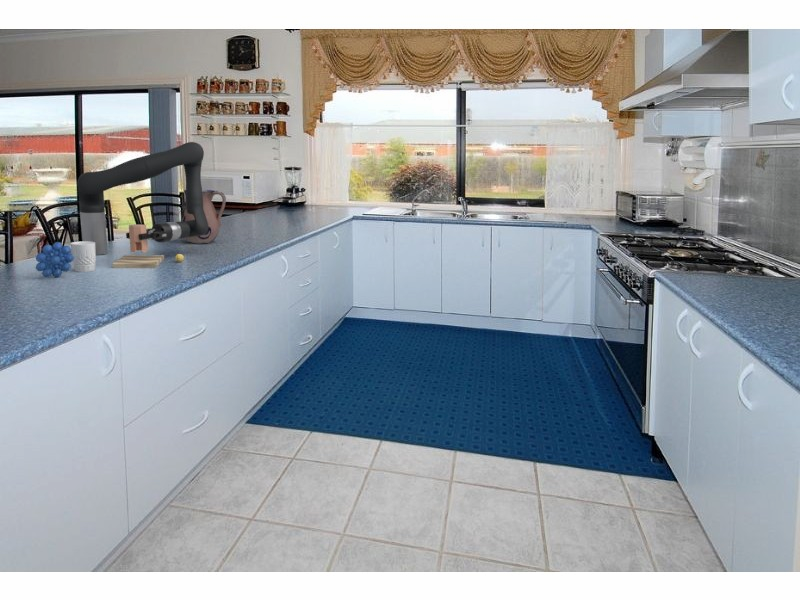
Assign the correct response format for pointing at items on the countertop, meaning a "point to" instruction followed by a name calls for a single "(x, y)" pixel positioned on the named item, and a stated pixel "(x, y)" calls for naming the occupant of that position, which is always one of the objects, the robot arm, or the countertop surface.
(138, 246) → the salmon octagonal post
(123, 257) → the oak board
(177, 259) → the mustard ball
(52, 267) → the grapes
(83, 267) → the white cup
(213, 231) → the ceramic pitcher
